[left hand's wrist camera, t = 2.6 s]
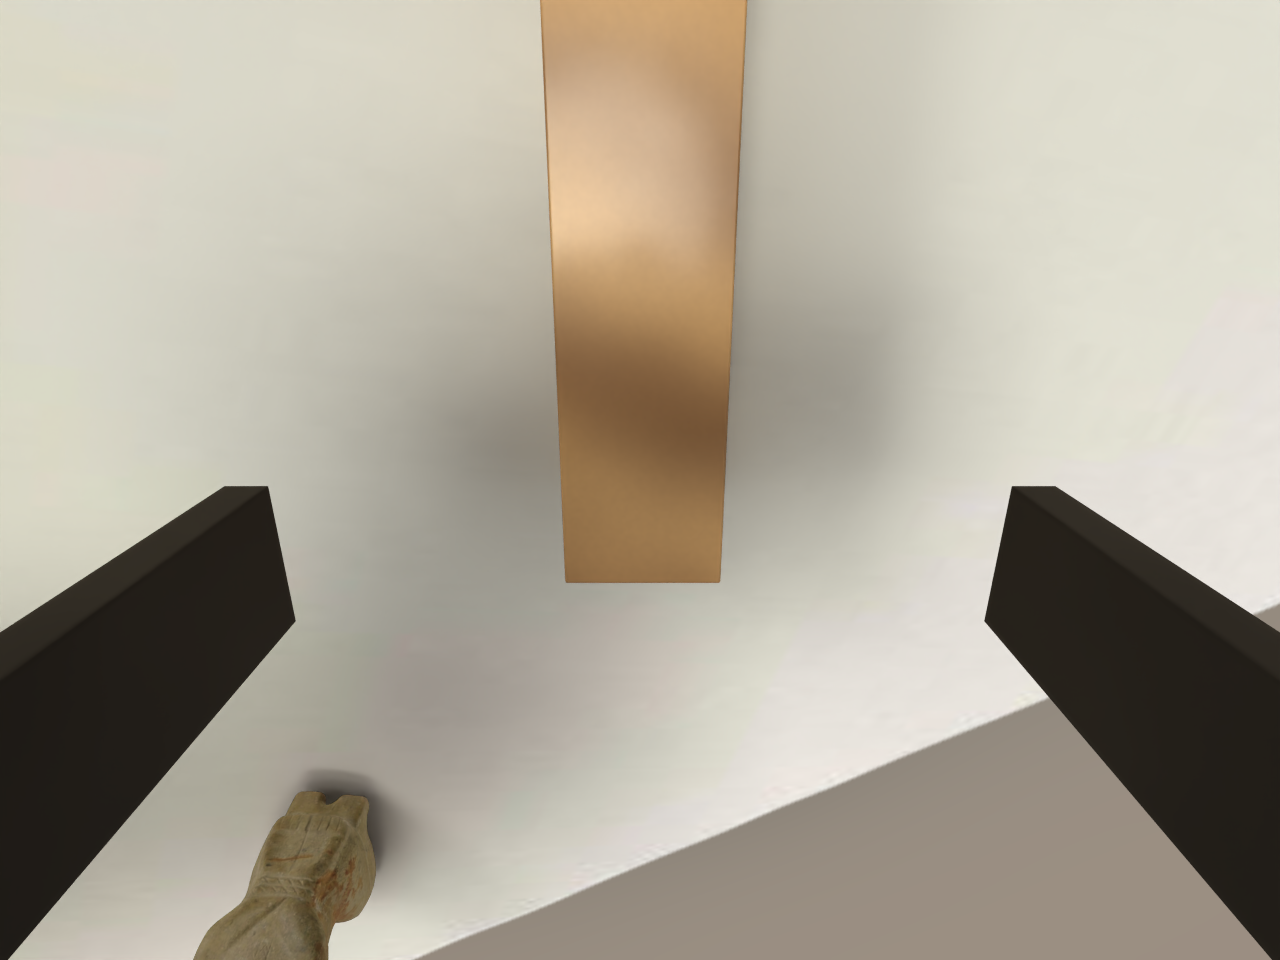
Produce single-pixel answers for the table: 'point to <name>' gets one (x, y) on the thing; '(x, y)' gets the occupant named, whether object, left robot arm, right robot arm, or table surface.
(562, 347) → the post
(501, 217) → the table surface
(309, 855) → the sculpture
